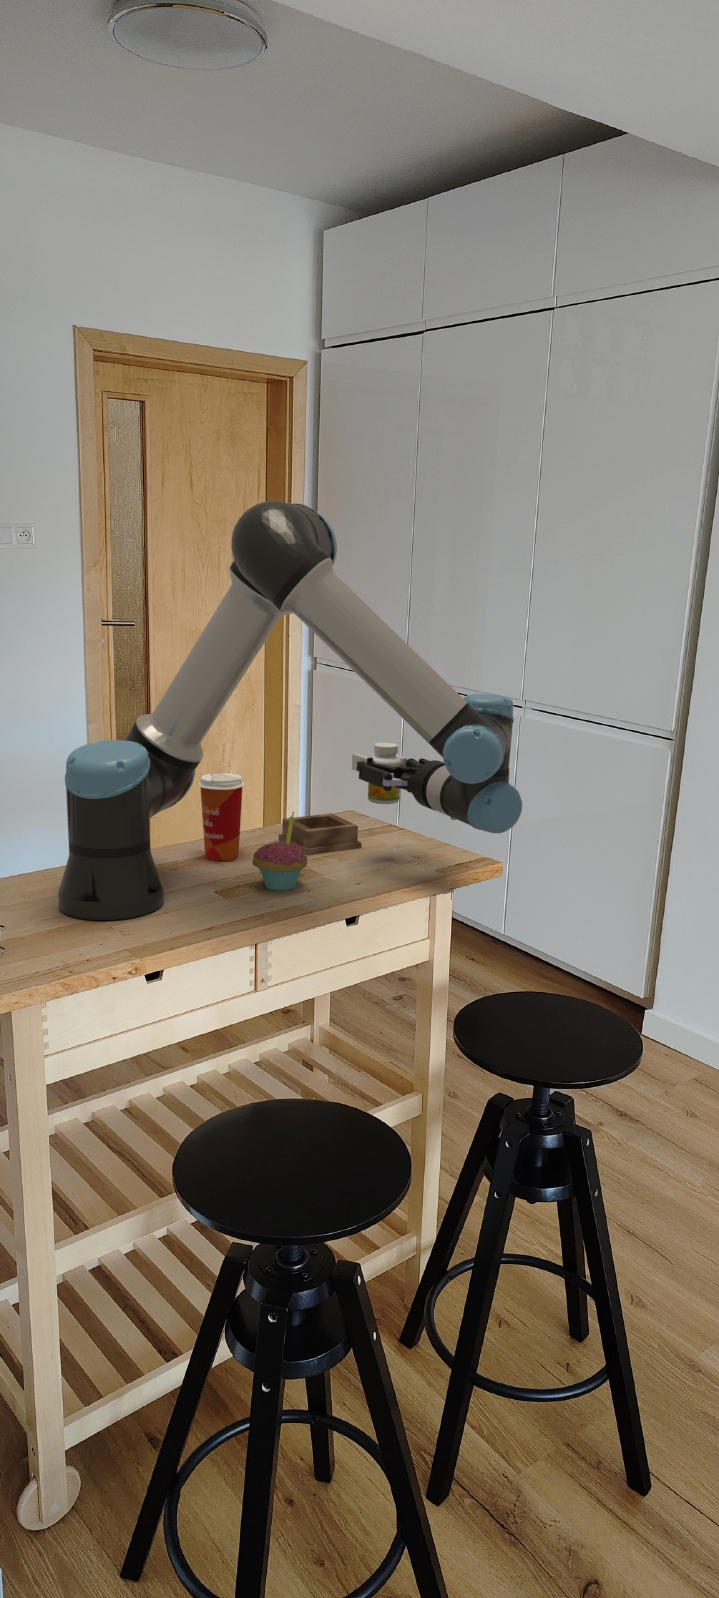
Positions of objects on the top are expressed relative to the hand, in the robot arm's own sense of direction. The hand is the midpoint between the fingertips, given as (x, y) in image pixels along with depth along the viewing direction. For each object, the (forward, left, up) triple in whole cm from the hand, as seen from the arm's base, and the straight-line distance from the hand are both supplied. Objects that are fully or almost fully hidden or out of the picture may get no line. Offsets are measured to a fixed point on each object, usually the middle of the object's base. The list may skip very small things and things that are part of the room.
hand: (369, 760), depth 185 cm
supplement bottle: (0, -5, -6) cm, 8 cm away
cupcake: (-22, -11, -17) cm, 30 cm away
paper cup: (-24, +8, -17) cm, 30 cm away
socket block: (-5, +8, -16) cm, 19 cm away
